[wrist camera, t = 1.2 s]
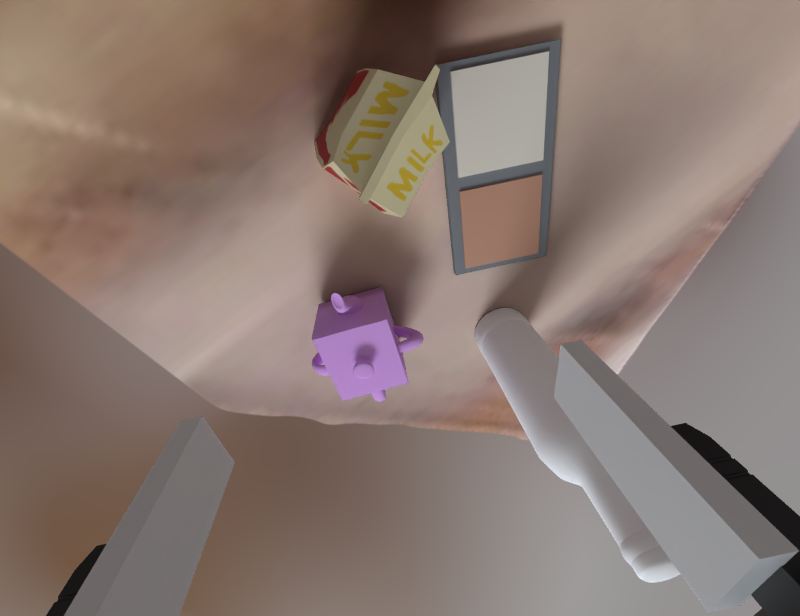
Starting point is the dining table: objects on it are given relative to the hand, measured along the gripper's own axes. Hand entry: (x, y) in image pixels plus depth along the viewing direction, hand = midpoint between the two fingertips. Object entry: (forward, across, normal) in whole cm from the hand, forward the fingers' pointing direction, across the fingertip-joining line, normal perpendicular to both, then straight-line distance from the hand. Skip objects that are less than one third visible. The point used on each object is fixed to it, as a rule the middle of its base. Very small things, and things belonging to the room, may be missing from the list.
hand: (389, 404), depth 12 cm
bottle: (+29, +16, -20) cm, 39 cm away
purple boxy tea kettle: (+29, -3, -14) cm, 33 cm away
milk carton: (+29, +2, +8) cm, 30 cm away
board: (+29, +15, +2) cm, 33 cm away
